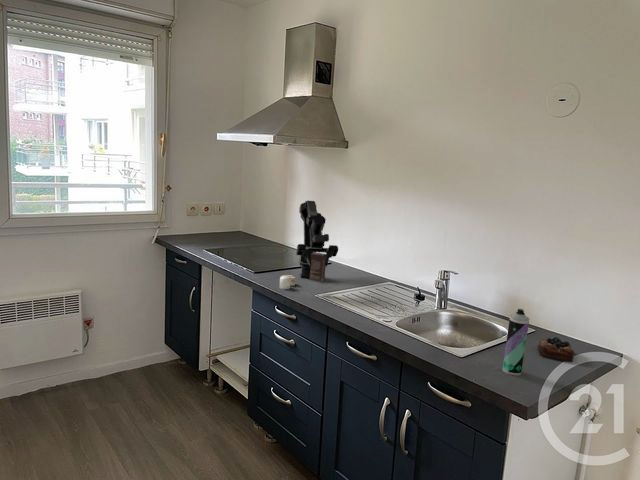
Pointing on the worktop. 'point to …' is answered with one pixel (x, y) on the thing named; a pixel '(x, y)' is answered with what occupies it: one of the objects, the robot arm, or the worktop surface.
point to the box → (317, 266)
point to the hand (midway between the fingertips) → (318, 266)
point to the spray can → (516, 343)
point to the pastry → (556, 349)
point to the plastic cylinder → (285, 282)
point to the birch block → (291, 280)
